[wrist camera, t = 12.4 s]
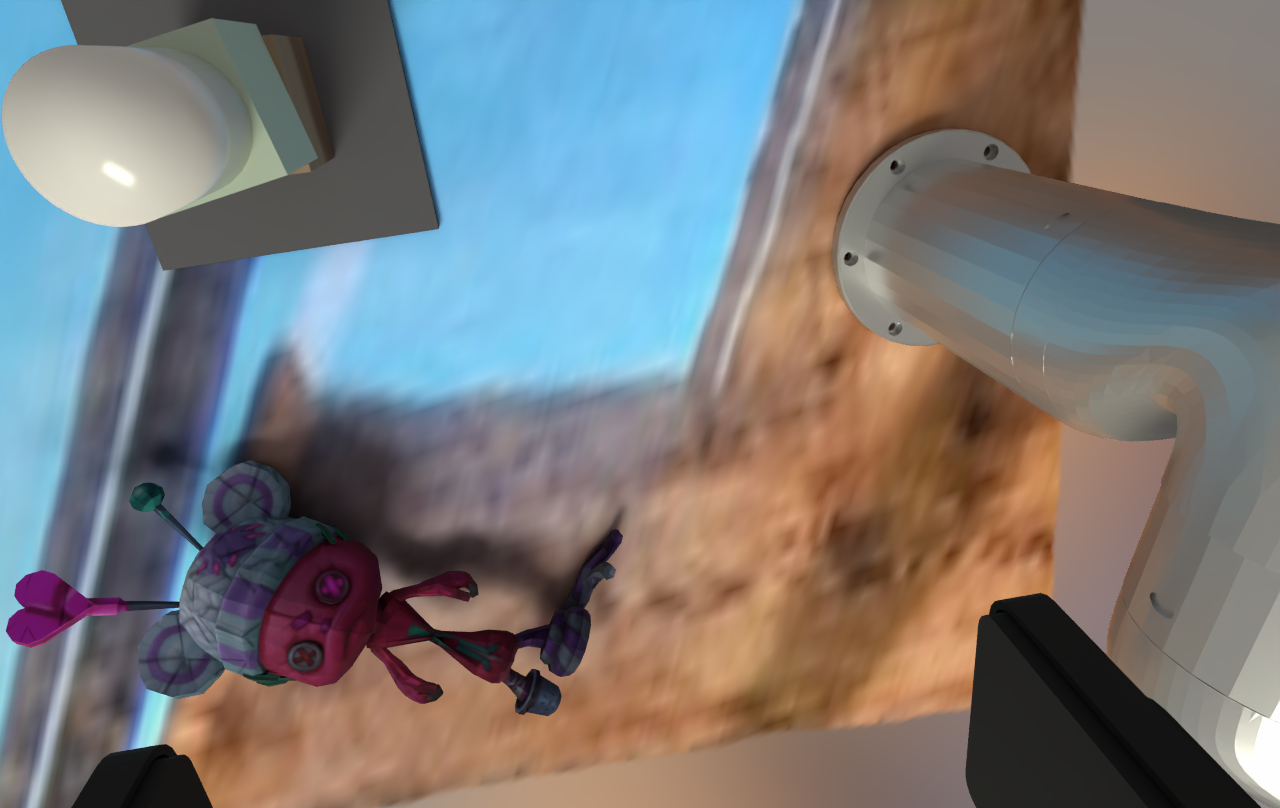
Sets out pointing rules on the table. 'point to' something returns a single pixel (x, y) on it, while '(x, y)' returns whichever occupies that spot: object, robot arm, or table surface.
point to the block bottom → (301, 93)
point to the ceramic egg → (124, 130)
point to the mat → (354, 116)
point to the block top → (248, 98)
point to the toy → (303, 605)
